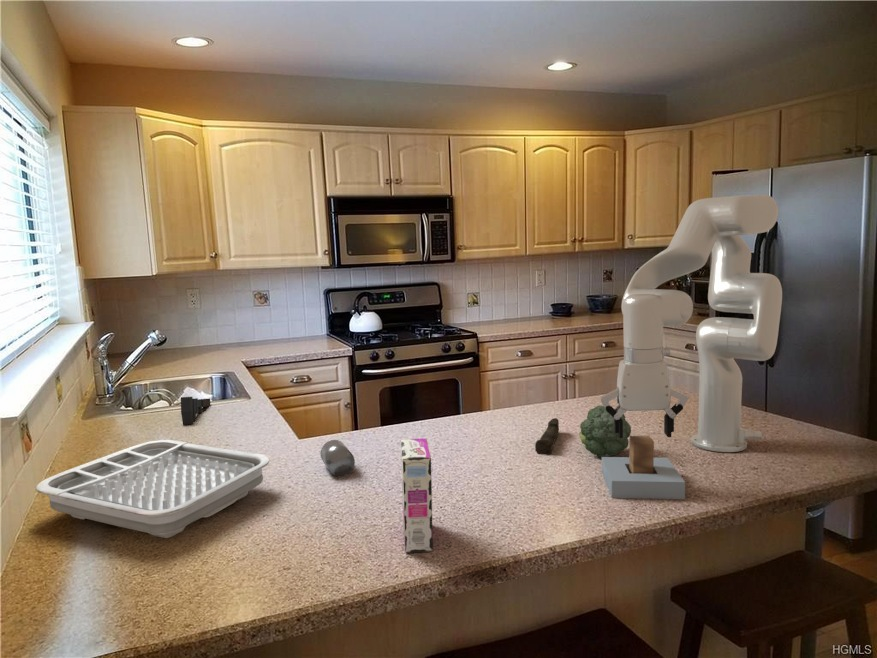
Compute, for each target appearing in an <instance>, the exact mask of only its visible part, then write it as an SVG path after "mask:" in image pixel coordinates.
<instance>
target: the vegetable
mask: <svg viewBox="0 0 877 658" xmlns="http://www.w3.org/2000/svg"><path fill="white" fill-rule="evenodd" d="M621 418H622V420H623V438H619V437H618V435H617V433H615V432H614V417H613V416H611V415H610V414H609V413H608V412H607V411H606V409H605V407H604V406H603V405H597V406H596V407H595V406H594V408H591V409H590V410H589V411H588V412H587V415H586V419H584V420H583V421H582V422H581V423H580V424H579V428H580V433H579V438H580V442H581V443H582V444H583V445H584V448H585V450H587V451H588V452H590V453H591V455H594V456H596V457H597V458H600V459H602V457H606V455H608V456H616V455H618V453H619V452H623V451H625V450H626V449H627V448H628V447H629V441H630V440H629V439H628V438H630V436H631V433H632V427H631V425H630V422H628V420H626V416H625V413H624V414H623V415H622V416H621Z"/></svg>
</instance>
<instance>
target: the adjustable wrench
mask: <svg viewBox="0 0 877 658" xmlns="http://www.w3.org/2000/svg"><path fill="white" fill-rule="evenodd" d="M210 406H211V398H210V397H209V398H200V399H199V398H193V396H183V397H182V396H181V397H180V415H181V421H182V426H191V425H192V426H193V425H194V423H196V417H197V414H200V413H202V412H203V409H202V408H205V407H210Z"/></svg>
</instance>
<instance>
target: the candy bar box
mask: <svg viewBox="0 0 877 658" xmlns="http://www.w3.org/2000/svg"><path fill="white" fill-rule="evenodd" d="M400 445H401V449H400V452H401V453H400V455H401V456H400V457H401V458H400V459H401V487H402V488H401V490H402V522H403V525H402V526H403V538H404V539H403V540H404V551H405V554H407V553H411V554H412V553H426V552H427V553H428V552H433V551H434V550H433V549H434V545H433V544H434V539H433V537H434V536H433V532H434V531H433V496H432V495H433V490H432V489H433V486H432V483H433V482H432V456H431V452H430V448H429V443H428V439H427V438H410V439H409V438H408V439H401V441H400Z"/></svg>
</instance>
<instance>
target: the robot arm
mask: <svg viewBox="0 0 877 658" xmlns="http://www.w3.org/2000/svg"><path fill="white" fill-rule="evenodd" d="M778 217H779V208H778V204H777V202H776V200H775V199H774V198H773V197H772V196H771V195H769V194H755V195H753V194H752V195H731V196H719V197H718V196H717V197H706V198H701V199H697V200H695V201H693V202H692V203H690V204H689V205H688V207H687V208H686V210H685V212H684V214H683V216H682V218H681V220H680V223H679V224H678V227H677V229H676V231H675V233H674V235H673V236H672V238H671V240H670V243H669V245H668V246H667V248H666V249H664V250H661V251H660V252H659V253H658V254H656V255H655V256H653V257H652V258H650V259H649V260H648V261H646V262H645V263H644V264H642V265H641V266H640V267H639V268H638V269H637V270H636V271H635V273H634V274H633V276H632V277H631V279H630V281H629V283H628V285H627V286H626V289H625V291H624V293H623V296H622V299H621V305H620V306H621V313H622V319H623V321H622V323H623V327H622V328H623V359H621V360H619V364H618V368H617V379H616V388H615V389H613V390H611V391H610V392H608V393H605V394H603V395H602V396H600V398H599V400H600V402H601V404H602V406H604V407H605V409H606V411H607V412H608V413H609V414H610V415H611V416H613V417H614V432H615V433H617V435H618V437H619V438H623V420H622V418H621V416H622V415H623V414H624V415H625V413H626V411H629V412H631V411H632V412H637V411H639V412H642V411H664V413H665V414H664V416H663V425H664V426H663V433H664V435H665V436H666V437H667V438H672V433H675V432H674V431H675V419H676V417H677V416H678V415H679V413H680V412H681V411H683V409H684V406H685V405H686V403H687V402H688V400H689V397H688V396H687V394H685V393H683V392H681V391H678V390H676V389H674V388H671V386H670V376H669V370H668V365H667V361H666V360H665V359H664V358H665V357H666V356H670V355H671V349H670V348H666V347H665V346H664V345H663V342H664V340H663V338H664V336H663V333H664V331H663V328H664V327H665V328H666V327H678V326H679V327H680V326H681V325H684V324H686V323H687V322H688V321H689V320H690V318H691V317H692V315H693V312H694V303H693V299H692V298H691V296H690V295H689V294H688V293H686V292H684V291H683V290H677V289H662V288H661V289H660V288H659V289H658V287H659V286H661V285H662V284H664V283H667V282H668V281H671V280H673V279H676V278H680V277H682V276H683V277H684V276H685V275H688V274H691V273H693V272H695V271H697V270H701V268H703V267H704V266H705V265H706V263H707V261H708V259H709V257H710V255H711V254H712V255H711V267H710V273H709V274H710V276H709V281H708V292H707V300H708V305H709V307H710V308H711V309H713V310H714V311H718V312H722V313H735V314H736V313H738V314H752V315H753V319H751V318H750V319H749V318H739V317H723V316H721V317H720V316H718V317H717V316H715V317H714V316H713V317H708V318H706V319H704V320H701V322H700V323H699V324H698V326H697V327H696V332H695V341H696V342H695V343H696V346H697V351H698V361H699V362H698V363H699V365H698V366H699V374H698V375H699V376H698V377H699V378H698V379H699V380H698V381H699V382H698V383H699V384H698V412H697V413H698V419H697V420H698V423H697V433H696V434H695V433H694V434H693V435H691V438H690V442H691V444H692V445H693V446H695V447H696V448H699V449H702V450H706V451H712V452H718V453H735V452H736V453H737V452H741V451H745V450H746V449H747V448H748V441H749V439H753V440H762V439H763V434H762V431H761V430H753V429H751V428H750V429H748V428H747V429H745V428H743V427H742V425H741V424H742V423H741V421H742V396H743V394H742V392H743V391H742V390H743V374H742V371H741V369H740V367H739V365H738V364H737V362H736V361H735V359H739V360H747V361H755V362H757V361H758V362H764V361H768V360H770V359H771V358H772V357H773V356H774V355H775V352H776V348H777V344H778V337H779V328H780V321H781V312H782V304H783V288H782V284H781V281H780V279H779V278H778V277H777V276H776V275H774V274H771V273H765V272H751V260H752V252H751V248H750V247H749V245H748V244H747V242H746V241H745V239H744V238H743V237H742V236H744V235H745V236H746V235H751V236H752V235H757V234H762V233H766V232H769V231H770V230H771V229H772V228H773V227H774V226H775V224H776V223H777V220H778ZM671 396H672V397H674V398H676V399H677V401H676V403H675V404H674V405H673V406H672V407H671ZM614 399H616V402H617V405H616V407H615V408H614V407H612V406H611V404H610V401H612V400H614Z"/></svg>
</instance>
